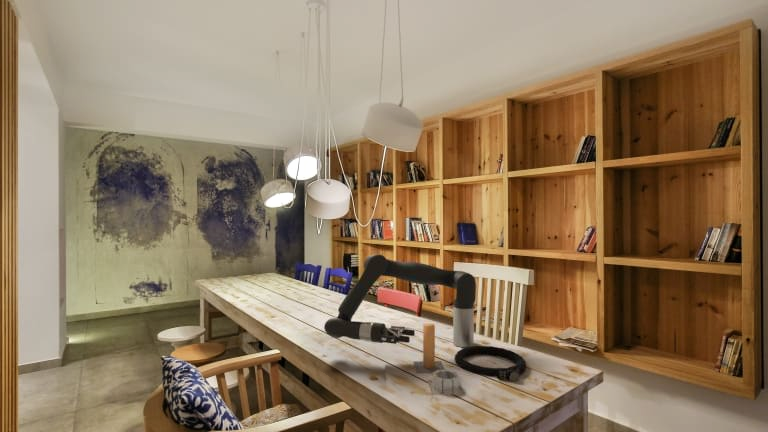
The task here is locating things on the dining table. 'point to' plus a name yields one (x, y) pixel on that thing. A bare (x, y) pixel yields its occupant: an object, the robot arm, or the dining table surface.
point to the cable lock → (502, 373)
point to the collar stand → (445, 383)
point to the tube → (429, 346)
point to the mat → (421, 369)
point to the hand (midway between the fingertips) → (412, 336)
